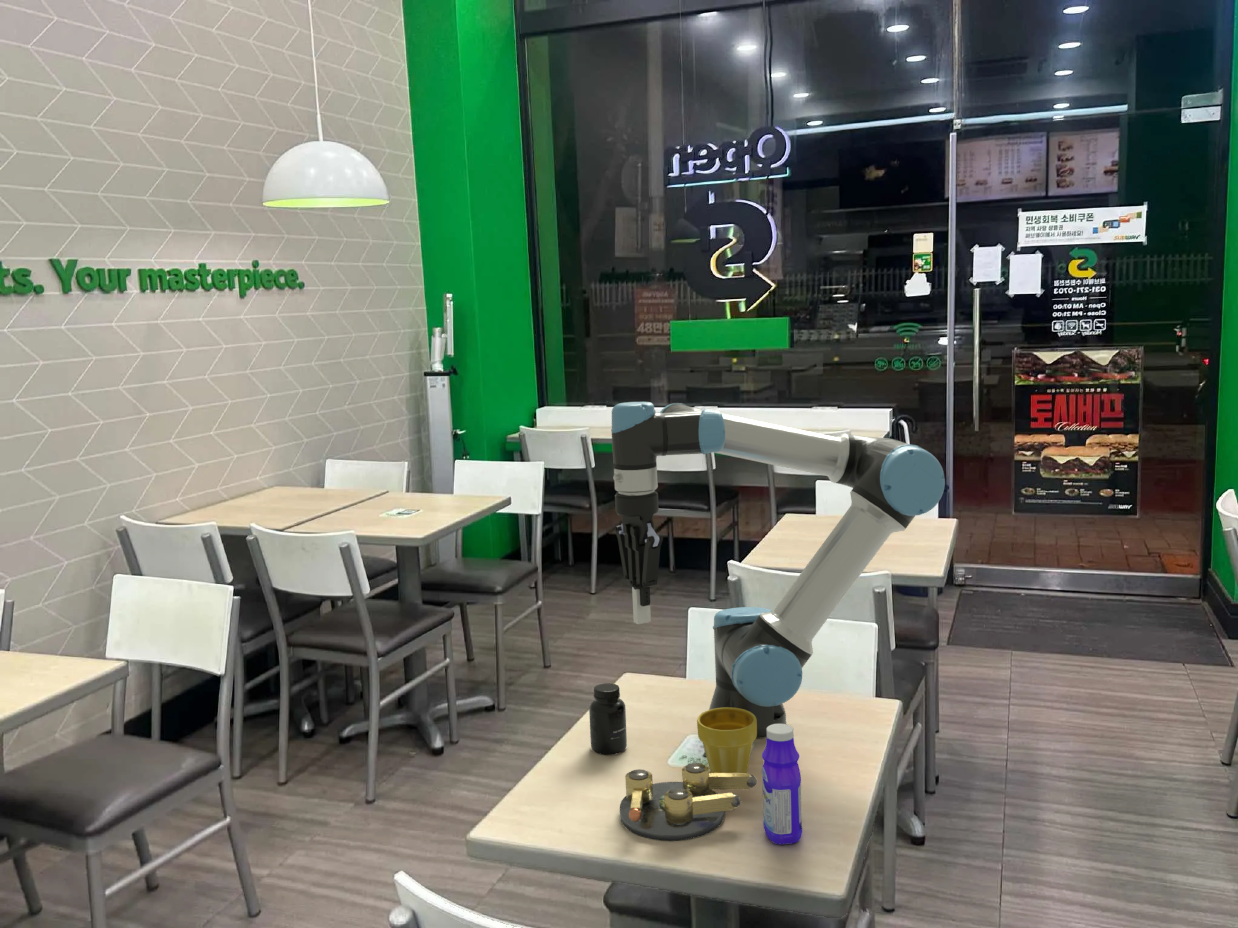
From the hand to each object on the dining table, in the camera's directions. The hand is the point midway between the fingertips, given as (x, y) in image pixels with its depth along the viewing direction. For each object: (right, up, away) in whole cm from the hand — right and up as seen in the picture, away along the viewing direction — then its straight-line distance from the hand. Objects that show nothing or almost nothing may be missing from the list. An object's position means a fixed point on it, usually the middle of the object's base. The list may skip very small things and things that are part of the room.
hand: (642, 621), depth 183 cm
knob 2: (+9, -27, -21) cm, 35 cm away
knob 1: (-1, -27, -18) cm, 32 cm away
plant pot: (+15, -26, -1) cm, 30 cm away
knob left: (+13, -26, -13) cm, 31 cm away
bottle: (+21, -29, -24) cm, 43 cm away
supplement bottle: (-6, -26, +11) cm, 28 cm away
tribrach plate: (+5, -29, -16) cm, 33 cm away
